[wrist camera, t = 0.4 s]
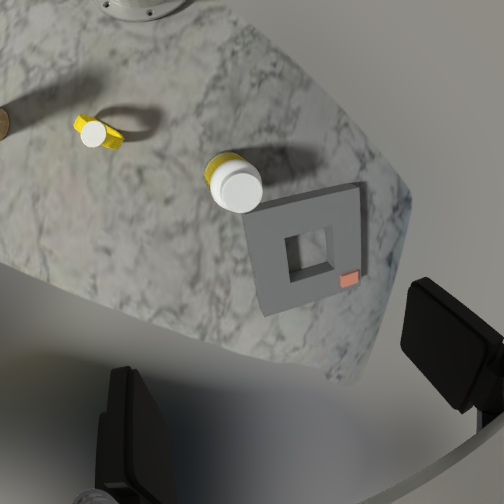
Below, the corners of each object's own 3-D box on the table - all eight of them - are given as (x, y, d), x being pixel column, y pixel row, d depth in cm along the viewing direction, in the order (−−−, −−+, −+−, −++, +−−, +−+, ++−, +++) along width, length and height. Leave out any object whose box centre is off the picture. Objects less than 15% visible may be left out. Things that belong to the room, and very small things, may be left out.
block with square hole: (240, 208, 41) (245, 216, 38) (350, 182, 44) (361, 188, 41) (259, 307, 49) (265, 319, 46) (353, 277, 51) (362, 287, 48)
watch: (129, 130, 34) (126, 136, 29) (117, 150, 34) (112, 160, 29) (88, 107, 31) (77, 109, 26) (76, 128, 31) (64, 133, 26)
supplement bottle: (193, 175, 38) (202, 196, 29) (224, 141, 37) (242, 152, 29) (226, 202, 40) (243, 230, 32) (255, 170, 40) (281, 190, 31)
